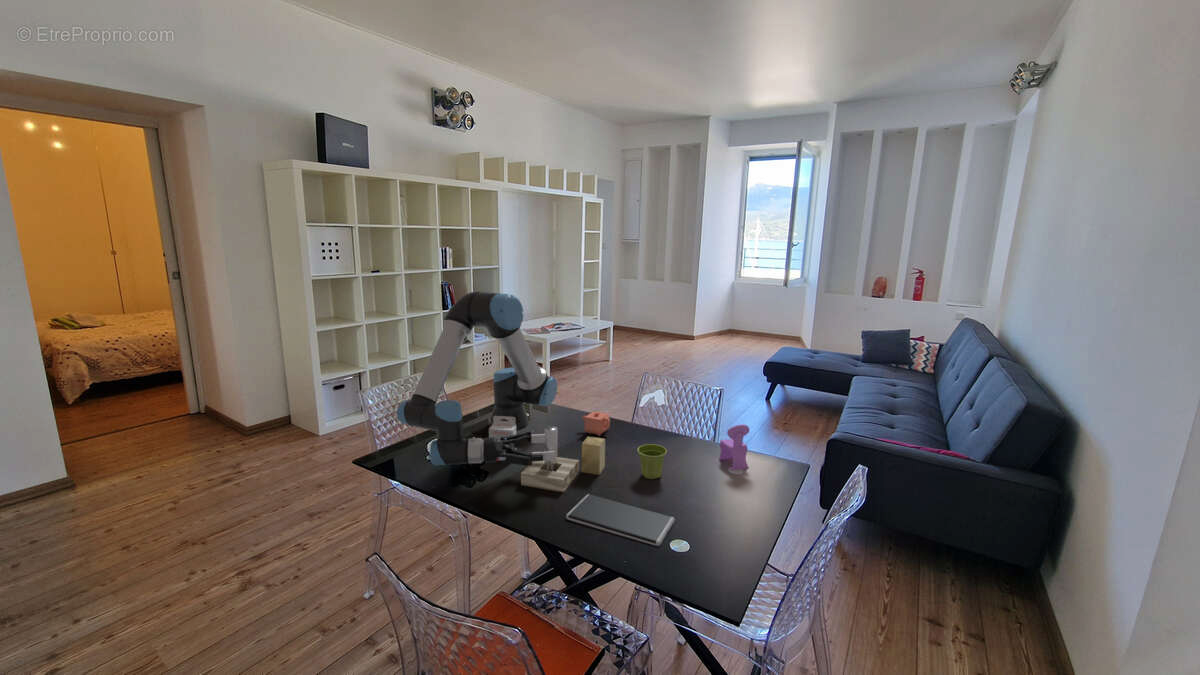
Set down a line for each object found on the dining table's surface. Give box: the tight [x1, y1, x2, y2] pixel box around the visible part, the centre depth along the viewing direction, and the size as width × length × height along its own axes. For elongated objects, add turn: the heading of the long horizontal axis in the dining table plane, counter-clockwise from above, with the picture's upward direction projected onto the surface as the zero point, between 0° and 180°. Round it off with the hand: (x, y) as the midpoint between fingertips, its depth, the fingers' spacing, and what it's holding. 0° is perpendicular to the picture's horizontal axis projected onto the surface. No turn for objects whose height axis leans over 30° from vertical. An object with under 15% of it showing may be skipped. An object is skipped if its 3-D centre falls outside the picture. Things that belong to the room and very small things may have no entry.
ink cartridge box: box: [488, 416, 518, 462], centre depth 168 cm, size 9×5×15 cm, turn 84°
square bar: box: [581, 436, 606, 476], centre depth 161 cm, size 6×6×10 cm
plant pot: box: [637, 443, 668, 480], centre depth 158 cm, size 9×9×9 cm
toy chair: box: [718, 424, 750, 471], centre depth 166 cm, size 8×9×15 cm
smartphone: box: [565, 493, 676, 547], centre depth 133 cm, size 13×27×2 cm, turn 64°
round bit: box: [544, 425, 559, 472], centre depth 154 cm, size 4×4×16 cm
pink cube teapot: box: [581, 410, 611, 437], centre depth 193 cm, size 8×12×8 cm, turn 63°
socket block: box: [520, 456, 580, 493], centre depth 155 cm, size 14×14×4 cm
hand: (552, 446), depth 154 cm, fingers open, 13 cm apart
